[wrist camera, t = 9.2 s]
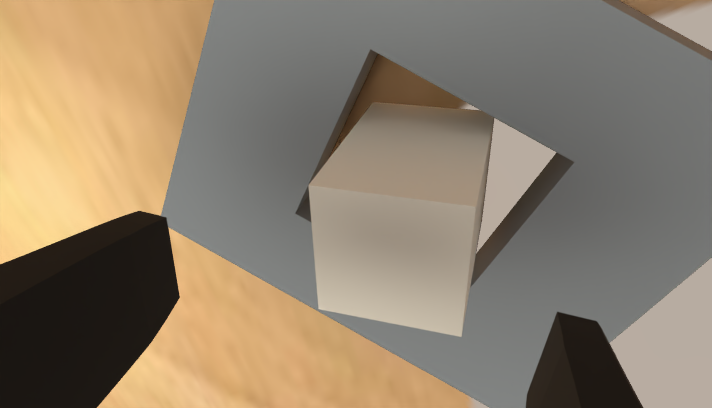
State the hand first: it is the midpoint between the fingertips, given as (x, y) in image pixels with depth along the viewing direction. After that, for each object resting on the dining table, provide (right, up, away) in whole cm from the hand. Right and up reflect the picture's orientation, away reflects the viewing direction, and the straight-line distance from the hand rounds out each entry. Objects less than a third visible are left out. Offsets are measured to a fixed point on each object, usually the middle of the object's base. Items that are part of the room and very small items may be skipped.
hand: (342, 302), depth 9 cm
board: (+3, +3, +8) cm, 10 cm away
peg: (+3, +3, +9) cm, 10 cm away
